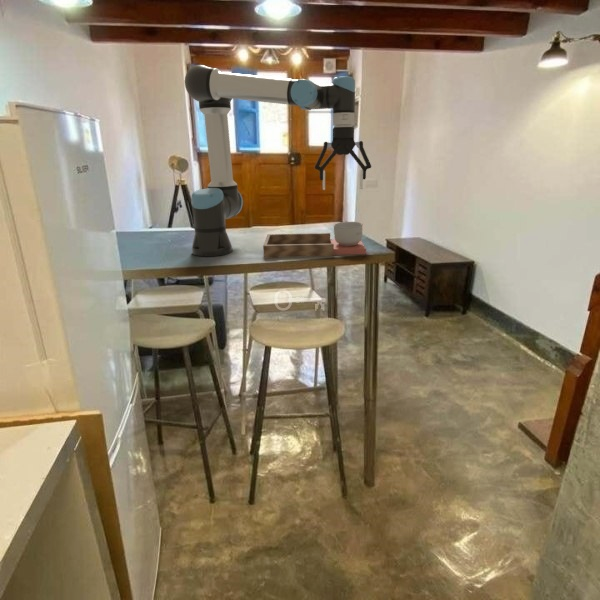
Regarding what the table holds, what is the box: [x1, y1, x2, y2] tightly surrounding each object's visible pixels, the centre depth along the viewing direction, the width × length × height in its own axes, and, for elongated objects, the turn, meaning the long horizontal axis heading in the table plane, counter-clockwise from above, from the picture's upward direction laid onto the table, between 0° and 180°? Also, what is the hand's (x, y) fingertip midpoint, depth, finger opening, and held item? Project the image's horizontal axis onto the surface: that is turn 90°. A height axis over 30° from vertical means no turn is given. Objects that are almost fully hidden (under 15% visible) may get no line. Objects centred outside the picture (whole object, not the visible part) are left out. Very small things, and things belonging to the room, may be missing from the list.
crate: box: [262, 232, 334, 259], centre depth 161 cm, size 25×20×4 cm
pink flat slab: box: [330, 238, 367, 256], centre depth 161 cm, size 2×17×12 cm
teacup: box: [333, 221, 363, 246], centre depth 160 cm, size 14×11×8 cm
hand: (342, 189), depth 154 cm, fingers open, 13 cm apart
